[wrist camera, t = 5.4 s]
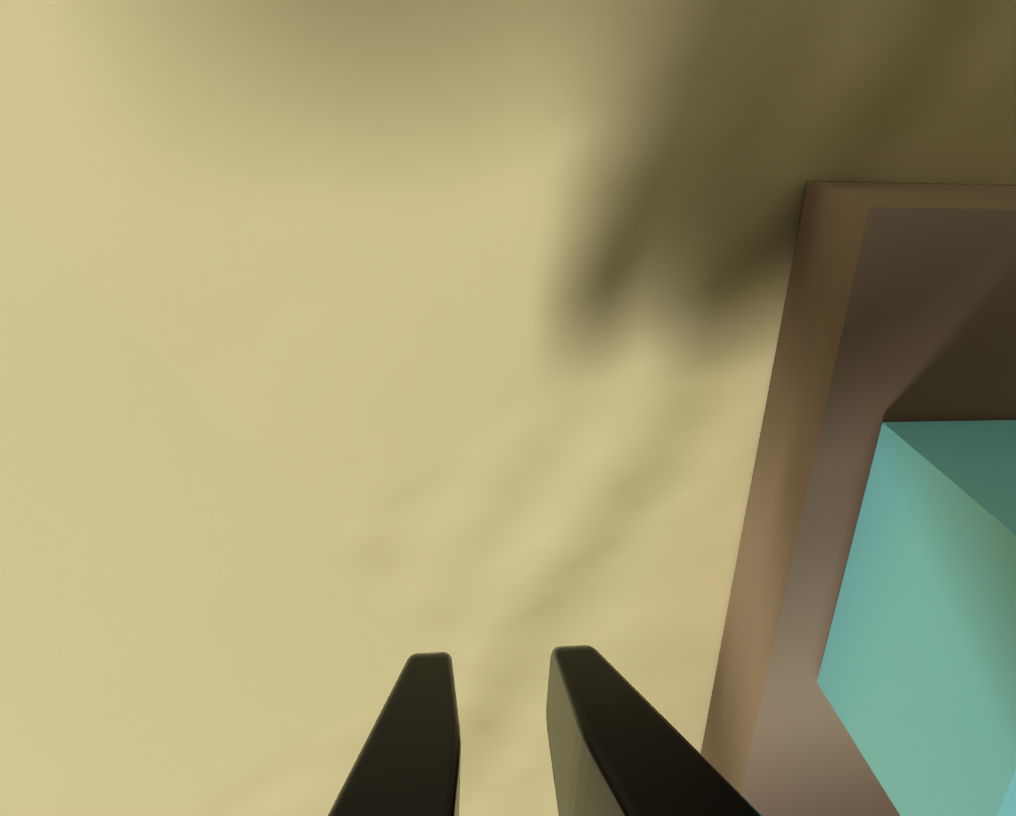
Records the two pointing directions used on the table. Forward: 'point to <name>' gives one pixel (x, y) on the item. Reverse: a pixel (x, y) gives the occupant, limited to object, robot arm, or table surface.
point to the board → (850, 456)
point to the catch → (933, 619)
